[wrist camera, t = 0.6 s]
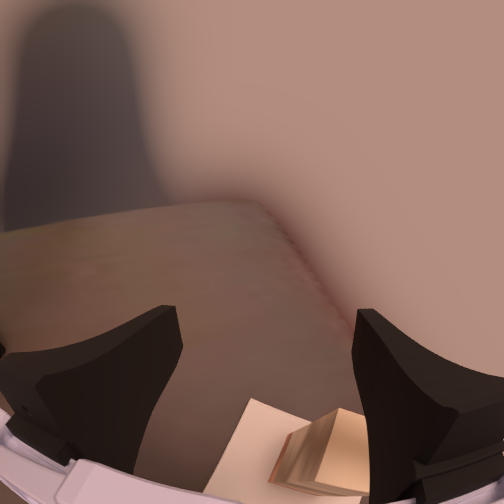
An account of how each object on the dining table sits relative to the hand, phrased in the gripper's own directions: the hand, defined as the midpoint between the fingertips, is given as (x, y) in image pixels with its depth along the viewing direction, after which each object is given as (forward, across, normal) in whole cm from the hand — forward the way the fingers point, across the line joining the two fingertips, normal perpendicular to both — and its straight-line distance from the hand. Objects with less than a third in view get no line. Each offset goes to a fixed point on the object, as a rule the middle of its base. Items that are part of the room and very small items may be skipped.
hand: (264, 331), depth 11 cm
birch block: (+4, -3, +18) cm, 19 cm away
